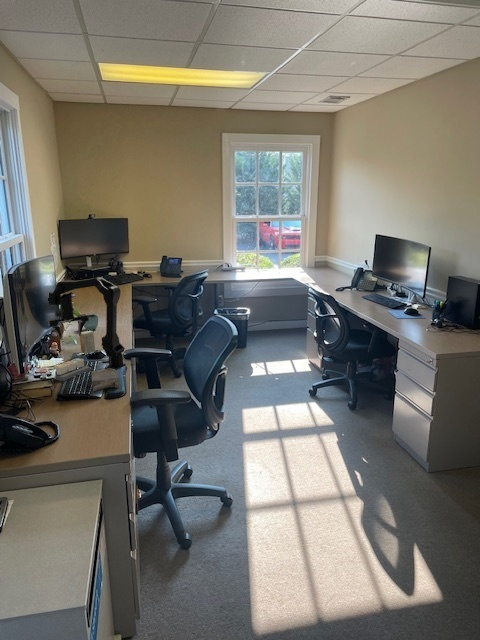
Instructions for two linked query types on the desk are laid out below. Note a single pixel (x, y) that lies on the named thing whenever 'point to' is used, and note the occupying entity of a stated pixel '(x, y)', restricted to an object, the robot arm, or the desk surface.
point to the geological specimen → (104, 379)
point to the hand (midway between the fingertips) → (70, 337)
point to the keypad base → (72, 373)
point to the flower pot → (91, 322)
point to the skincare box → (87, 342)
